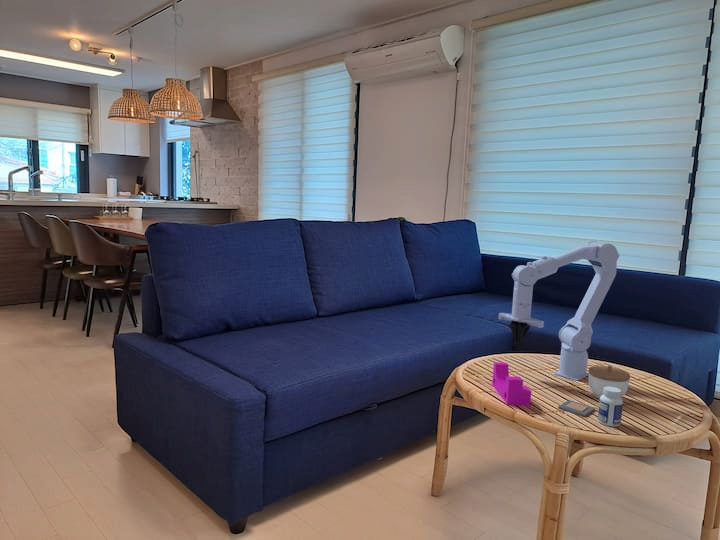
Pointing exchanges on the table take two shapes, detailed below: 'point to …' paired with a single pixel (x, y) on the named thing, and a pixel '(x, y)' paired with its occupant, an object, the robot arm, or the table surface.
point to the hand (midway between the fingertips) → (518, 345)
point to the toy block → (510, 386)
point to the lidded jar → (607, 379)
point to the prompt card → (576, 408)
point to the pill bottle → (610, 407)
